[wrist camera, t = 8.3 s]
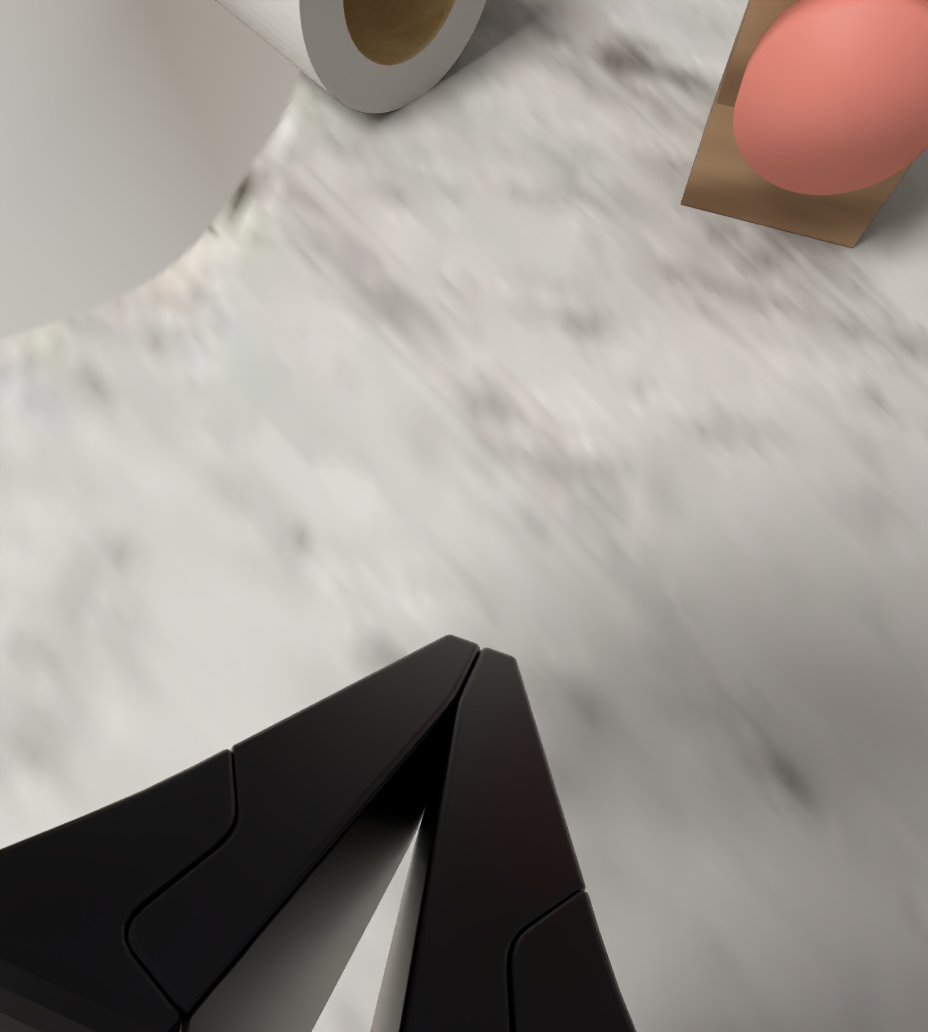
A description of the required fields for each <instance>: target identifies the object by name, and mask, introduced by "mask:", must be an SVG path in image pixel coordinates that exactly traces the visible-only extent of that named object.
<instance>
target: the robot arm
mask: <svg viewBox="0 0 928 1032" xmlns="http://www.w3.org/2000/svg"><path fill="white" fill-rule="evenodd" d="M422 817H423V818H422ZM421 819H422V821H421ZM420 821H421V824H420ZM419 824H420V828H419V831H418V835H417V839H416V842H415V846H414V850H413V854H412V858H411V862H410V866H409V871H408V875H407V879H406V883H405V888H404V892H403V896H402V900H401V904H400V909H399V913H398V917H397V921H396V926H395V930H394V934H393V938H392V942H391V947H390V951H389V955H388V959H387V964H386V968H385V972H384V976H383V980H382V985H381V989H380V993H379V997H378V1002H377V1006H376V1010H375V1014H374V1018H373V1023H372V1027H371V1031H370V1032H636V1030H635V1027H634V1025H633V1022H632V1020H631V1017H630V1015H629V1012H628V1010H627V1007H626V1005H625V1002H624V1000H623V997H622V995H621V992H620V990H619V987H618V984H617V981H616V978H615V975H614V972H613V969H612V966H611V963H610V960H609V957H608V955H607V952H606V949H605V946H604V943H603V940H602V937H601V934H600V931H599V928H598V924H597V921H596V918H595V914H594V911H593V908H592V904H591V901H590V898H589V895H588V893H587V892H585V883H584V879H583V876H582V873H581V870H580V866H579V863H578V860H577V857H576V853H575V850H574V847H573V843H572V840H571V837H570V834H569V830H568V827H567V824H566V821H565V817H564V814H563V811H562V808H561V804H560V801H559V798H558V794H557V791H556V788H555V785H554V781H553V778H552V775H551V772H550V768H549V765H548V762H547V759H546V755H545V752H544V749H543V746H542V742H541V739H540V736H539V732H538V729H537V726H536V723H535V719H534V716H533V713H532V710H531V706H530V703H529V700H528V697H527V693H526V690H525V687H524V684H523V680H522V677H521V674H520V670H519V667H518V664H517V661H516V659H515V658H514V657H512V656H510V655H507V654H504V653H501V652H499V651H496V650H493V649H490V648H483V649H482V650H481V651H480V647H479V646H478V645H477V644H476V643H473V642H470V641H468V640H465V639H462V638H459V637H456V636H454V635H446V636H444V637H442V638H440V639H438V640H436V641H434V642H432V643H430V644H428V645H426V646H425V647H423V648H421V649H419V650H417V651H415V652H413V653H411V654H409V655H407V656H405V657H403V658H401V659H399V660H398V661H396V662H394V663H392V664H390V665H388V666H386V667H384V668H382V669H380V670H378V671H376V672H374V673H372V674H370V675H369V676H367V677H365V678H363V679H361V680H359V681H357V682H355V683H353V684H351V685H349V686H347V687H345V688H343V689H342V690H340V691H338V692H336V693H334V694H332V695H330V696H328V697H326V698H324V699H322V700H320V701H318V702H316V703H315V704H313V705H311V706H309V707H307V708H305V709H303V710H301V711H299V712H297V713H295V714H293V715H291V716H289V717H288V718H286V719H284V720H282V721H280V722H278V723H276V724H274V725H272V726H270V727H268V728H266V729H264V730H262V731H261V732H259V733H257V734H255V735H253V736H251V737H249V738H247V739H245V740H243V741H241V742H239V743H237V744H235V745H234V746H233V747H232V749H231V751H230V750H228V749H225V750H223V751H221V752H219V753H217V754H215V755H214V756H212V757H210V758H208V759H206V760H204V761H202V762H200V763H198V764H196V765H194V766H192V767H190V768H188V769H186V770H184V771H182V772H180V773H178V774H176V775H174V776H171V777H169V778H167V779H165V780H163V781H161V782H159V783H157V784H155V785H153V786H151V787H149V788H147V789H145V790H143V791H140V792H138V793H136V794H133V795H131V796H129V797H126V798H124V799H122V800H119V801H117V802H114V803H112V804H110V805H107V806H105V807H103V808H100V809H98V810H96V811H93V812H91V813H89V814H86V815H84V816H82V817H79V818H77V819H74V820H72V821H69V822H67V823H64V824H62V825H59V826H57V827H54V828H52V829H49V830H47V831H44V832H42V833H40V834H37V835H35V836H32V837H30V838H27V839H25V840H22V841H20V842H17V843H15V844H12V845H10V846H7V847H5V848H2V849H0V1032H312V1030H313V1028H314V1026H315V1024H316V1022H317V1020H318V1018H319V1016H320V1015H321V1013H322V1011H323V1009H324V1007H325V1005H326V1003H327V1001H328V999H329V997H330V996H331V994H332V992H333V990H334V988H335V986H336V984H337V982H338V980H339V978H340V977H341V975H342V973H343V971H344V969H345V967H346V965H347V963H348V961H349V959H350V958H351V956H352V954H353V952H354V950H355V948H356V946H357V944H358V942H359V940H360V939H361V937H362V935H363V933H364V931H365V929H366V927H367V925H368V923H369V921H370V920H371V918H372V916H373V914H374V912H375V910H376V908H377V906H378V904H379V902H380V901H381V899H382V897H383V895H384V893H385V891H386V889H387V887H388V885H389V883H390V882H391V880H392V878H393V876H394V874H395V872H396V870H397V868H398V866H399V864H400V863H401V861H402V859H403V857H404V855H405V853H406V851H407V849H408V847H409V845H410V843H411V841H412V839H413V837H414V835H415V833H416V831H417V829H418V826H419Z"/></svg>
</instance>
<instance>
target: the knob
mask: <svg viewBox="0 0 928 1032" xmlns="http://www.w3.org/2000/svg"><path fill="white" fill-rule="evenodd" d="M733 128H734V135H735V139H736V142H737V146H738V148H739V150H740V152H741V154H742V156H743V158H744V159H745V161H746V162H747V164H748V165H749V166H750V167H751V168H752V169H753V170H754V171H755V172H756V173H757V174H758V175H759V176H761V177H762V178H763V179H765V180H766V181H768V182H770V183H771V184H773V185H776V186H778V187H780V188H782V189H785V190H789V191H792V192H796V193H801V194H809V195H834V194H842V193H847V192H852V191H856V190H860V189H863V188H866V187H869V186H871V185H874V184H876V183H879V182H881V181H883V180H885V179H887V178H889V177H891V176H892V175H894V174H896V173H897V172H899V171H900V170H902V169H903V168H905V167H906V166H908V165H909V164H910V163H911V162H912V161H914V160H915V159H916V158H917V157H918V156H919V155H920V154H921V153H922V152H923V151H924V150H925V149H926V148H927V147H928V0H799V1H797V2H796V3H794V4H793V5H791V6H790V7H789V8H788V9H786V10H785V11H784V12H783V13H782V14H780V15H779V16H778V17H777V18H776V19H775V21H774V22H773V23H772V24H771V25H770V26H769V27H768V28H767V30H766V31H765V32H764V33H763V35H762V36H761V37H760V39H759V41H758V42H757V44H756V46H755V47H754V49H753V51H752V54H751V56H750V58H749V60H748V63H747V66H746V70H745V73H744V76H743V80H742V83H741V86H740V89H739V93H738V96H737V99H736V103H735V108H734V114H733Z"/></svg>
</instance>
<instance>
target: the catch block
mask: <svg viewBox="0 0 928 1032" xmlns="http://www.w3.org/2000/svg"><path fill="white" fill-rule="evenodd" d="M797 1H799V0H749V2H748V4H747V7H746V10H745V13H744V16H743V19H742V22H741V25H740V27H739V30H738V33H737V36H736V39H735V42H734V45H733V47H732V50H731V53H730V56H729V59H728V62H727V65H726V67H725V70H724V73H723V76H722V79H721V82H720V85H719V88H718V90H717V93H716V96H715V99H714V102H713V105H712V108H711V111H710V114H709V117H708V120H707V123H706V126H705V129H704V133H703V136H702V139H701V142H700V145H699V148H698V151H697V154H696V157H695V161H694V164H693V167H692V170H691V173H690V176H689V179H688V182H687V186H686V189H685V192H684V195H683V198H682V201H681V204H683V205H687V206H691V207H694V208H698V209H702V210H706V211H710V212H714V213H718V214H722V215H726V216H730V217H734V218H738V219H742V220H746V221H750V222H753V223H757V224H761V225H765V226H769V227H773V228H777V229H781V230H785V231H789V232H793V233H797V234H801V235H805V236H809V237H812V238H816V239H820V240H824V241H828V242H832V243H836V244H840V245H844V246H848V247H852V248H853V247H854V245H855V244H856V243H857V241H858V240H859V238H860V237H861V235H862V234H863V233H864V231H865V230H866V228H867V227H868V225H869V224H870V223H871V221H872V220H873V218H874V217H875V215H876V214H877V213H878V211H879V210H880V208H881V207H882V205H883V204H884V203H885V201H886V200H887V198H888V197H889V195H890V194H891V192H892V191H893V190H894V188H895V187H896V185H897V184H898V182H899V181H900V180H901V178H902V177H903V175H904V174H905V172H906V171H907V170H908V168H909V167H910V165H911V164H912V162H913V161H912V162H911V163H910V164H909V165H908V166H906V167H905V168H903V169H902V170H900V171H899V172H897V173H896V174H894V175H892V176H891V177H889V178H887V179H885V180H883V181H881V182H879V183H876V184H874V185H871V186H869V187H866V188H863V189H860V190H856V191H852V192H847V193H842V194H834V195H809V194H801V193H796V192H792V191H789V190H785V189H782V188H780V187H778V186H776V185H773V184H771V183H770V182H768V181H766V180H765V179H763V178H762V177H761V176H759V175H758V174H757V173H756V172H755V171H754V170H753V169H752V168H751V167H750V166H749V165H748V164H747V162H746V161H745V159H744V158H743V156H742V154H741V152H740V150H739V148H738V146H737V142H736V139H735V135H734V128H733V114H734V108H735V103H736V99H737V96H738V93H739V89H740V86H741V83H742V80H743V76H744V73H745V70H746V66H747V63H748V60H749V58H750V56H751V54H752V51H753V49H754V47H755V46H756V44H757V42H758V41H759V39H760V37H761V36H762V35H763V33H764V32H765V31H766V30H767V28H768V27H769V26H770V25H771V24H772V23H773V22H774V21H775V19H776V18H777V17H778V16H779V15H780V14H782V13H783V12H784V11H785V10H786V9H788V8H789V7H790V6H791V5H793V4H794V3H796V2H797Z"/></svg>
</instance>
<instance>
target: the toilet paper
mask: <svg viewBox="0 0 928 1032" xmlns="http://www.w3.org/2000/svg"><path fill="white" fill-rule="evenodd" d="M215 1H217V2H218V3H219V4H220V5H222V6H223V7H224V8H225V9H227V10H228V11H229V12H230V13H232V14H233V15H234V16H235V17H236V18H237V19H239V20H240V21H241V22H242V23H244V24H245V25H246V26H247V27H249V28H250V29H251V30H252V31H253V32H255V33H256V34H257V35H258V36H260V37H261V38H262V39H263V40H264V41H266V42H267V43H268V44H269V45H271V46H272V47H273V48H274V49H275V50H277V51H278V52H279V53H280V54H282V55H283V56H284V57H285V58H286V59H288V60H289V61H290V62H291V63H293V64H294V65H295V66H296V67H297V68H299V69H300V70H301V71H302V72H304V73H305V74H306V75H307V76H308V77H310V78H311V79H312V80H313V81H315V82H316V83H317V84H318V85H319V86H321V87H322V88H323V89H324V90H326V91H327V92H328V93H329V94H330V95H332V96H333V97H334V98H335V99H337V100H338V101H339V102H341V103H342V104H344V105H345V106H347V107H349V108H351V109H354V110H357V111H360V112H365V113H385V112H390V111H394V110H397V109H400V108H402V107H404V106H406V105H408V104H409V103H411V102H412V101H414V100H416V99H417V98H419V97H420V96H422V95H423V94H425V93H426V92H428V91H429V90H430V89H431V88H433V87H434V86H435V85H436V84H437V83H438V82H439V81H440V80H441V79H442V77H443V76H444V75H445V74H446V73H447V72H448V71H449V69H450V68H451V67H452V65H453V64H454V63H455V62H456V60H457V59H458V57H459V56H460V54H461V53H462V51H463V49H464V48H465V46H466V45H467V43H468V41H469V39H470V37H471V35H472V34H473V32H474V30H475V28H476V25H477V23H478V21H479V19H480V16H481V14H482V11H483V9H484V6H485V4H486V1H487V0H215Z"/></svg>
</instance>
